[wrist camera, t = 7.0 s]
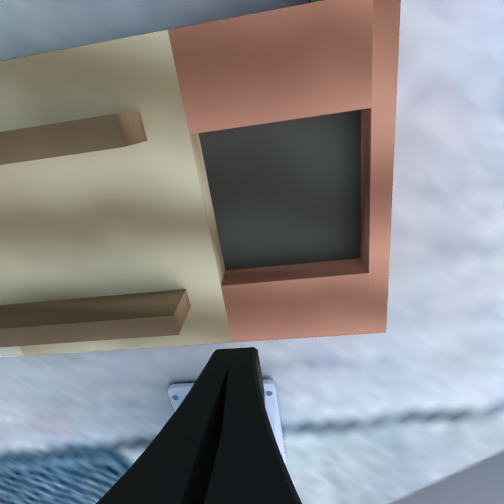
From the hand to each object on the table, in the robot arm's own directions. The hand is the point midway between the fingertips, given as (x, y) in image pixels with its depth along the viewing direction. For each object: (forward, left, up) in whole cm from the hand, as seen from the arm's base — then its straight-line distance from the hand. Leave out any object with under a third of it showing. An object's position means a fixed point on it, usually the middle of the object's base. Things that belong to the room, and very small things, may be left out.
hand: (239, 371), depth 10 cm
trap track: (+3, +9, -9) cm, 13 cm away
